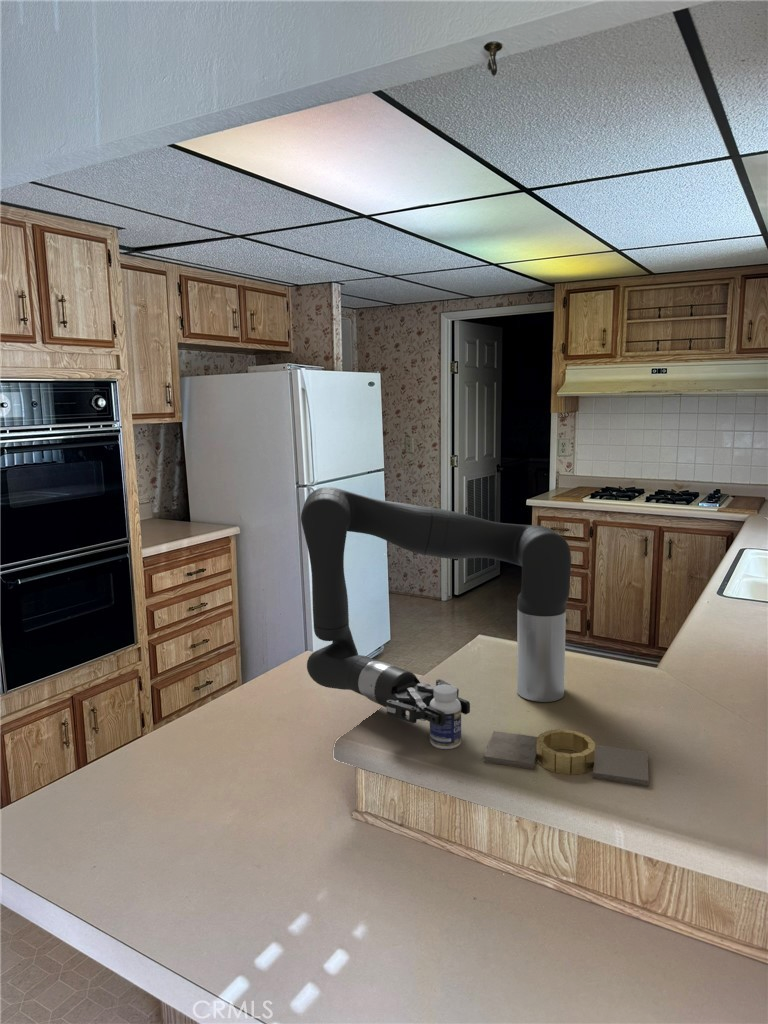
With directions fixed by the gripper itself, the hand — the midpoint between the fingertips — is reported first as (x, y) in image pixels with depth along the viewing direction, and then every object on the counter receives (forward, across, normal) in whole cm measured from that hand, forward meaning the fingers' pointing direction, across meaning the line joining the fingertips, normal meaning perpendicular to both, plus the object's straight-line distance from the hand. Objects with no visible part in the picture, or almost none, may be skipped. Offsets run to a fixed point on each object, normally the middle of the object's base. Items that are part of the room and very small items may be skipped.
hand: (456, 714), depth 117 cm
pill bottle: (-3, 0, +6) cm, 7 cm away
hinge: (+15, +9, +6) cm, 19 cm away
